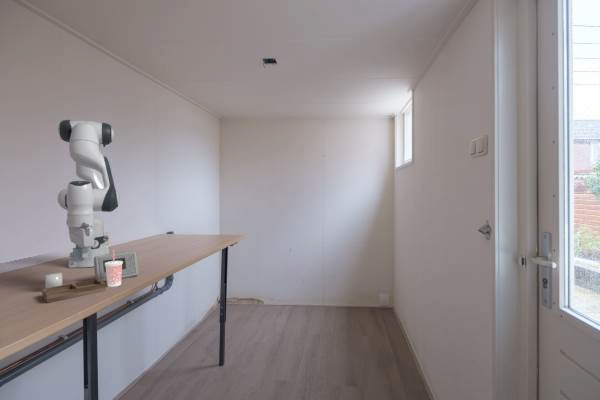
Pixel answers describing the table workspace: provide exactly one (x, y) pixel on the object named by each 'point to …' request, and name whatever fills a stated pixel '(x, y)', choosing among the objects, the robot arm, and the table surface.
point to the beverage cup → (114, 272)
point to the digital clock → (127, 257)
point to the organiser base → (73, 290)
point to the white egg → (53, 279)
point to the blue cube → (78, 257)
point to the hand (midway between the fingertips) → (82, 256)
